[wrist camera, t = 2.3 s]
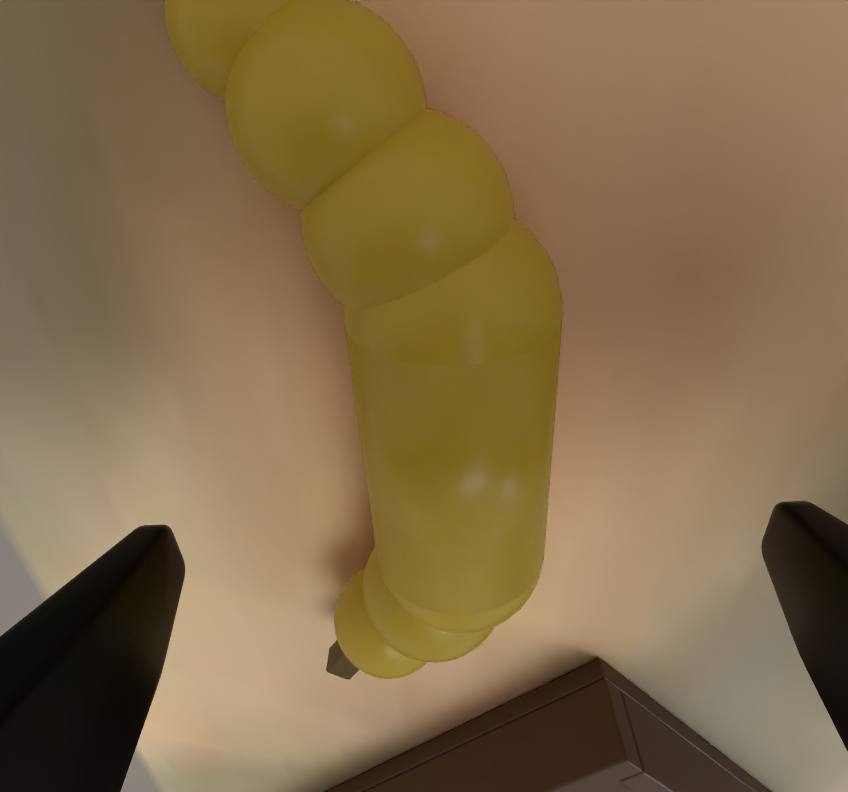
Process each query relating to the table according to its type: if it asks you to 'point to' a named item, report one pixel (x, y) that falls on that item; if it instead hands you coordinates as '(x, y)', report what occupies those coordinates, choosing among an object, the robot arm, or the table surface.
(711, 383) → the table surface
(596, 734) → the tray
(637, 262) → the table surface
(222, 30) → the banana
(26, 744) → the robot arm
